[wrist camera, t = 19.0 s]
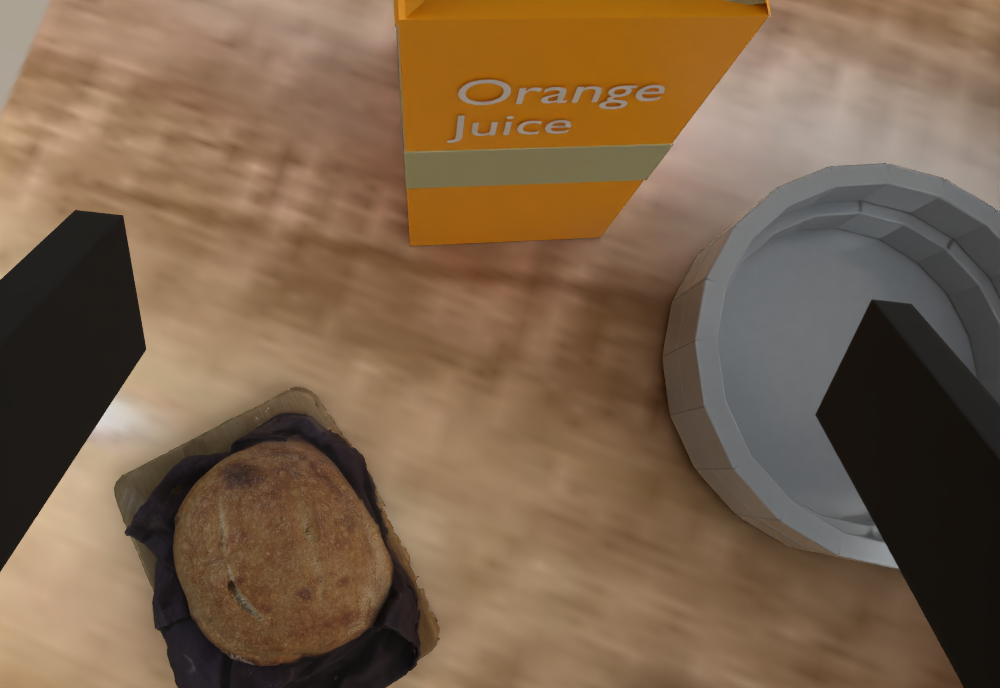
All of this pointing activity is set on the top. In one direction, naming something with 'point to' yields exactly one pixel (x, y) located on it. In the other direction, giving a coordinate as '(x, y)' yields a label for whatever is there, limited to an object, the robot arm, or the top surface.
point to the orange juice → (549, 107)
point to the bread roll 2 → (275, 557)
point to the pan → (819, 335)
